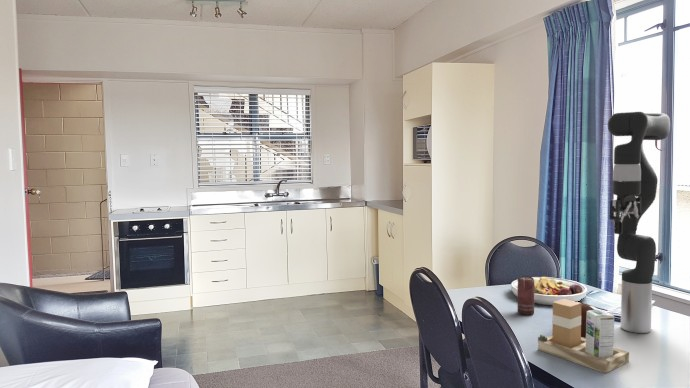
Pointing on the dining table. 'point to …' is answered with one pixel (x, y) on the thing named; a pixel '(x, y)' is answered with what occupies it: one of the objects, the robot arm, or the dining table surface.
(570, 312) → the tan cardboard box
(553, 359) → the dining table surface
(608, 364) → the pallet
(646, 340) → the dining table surface
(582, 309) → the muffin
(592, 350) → the syrup box
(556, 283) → the bowl
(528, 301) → the can
